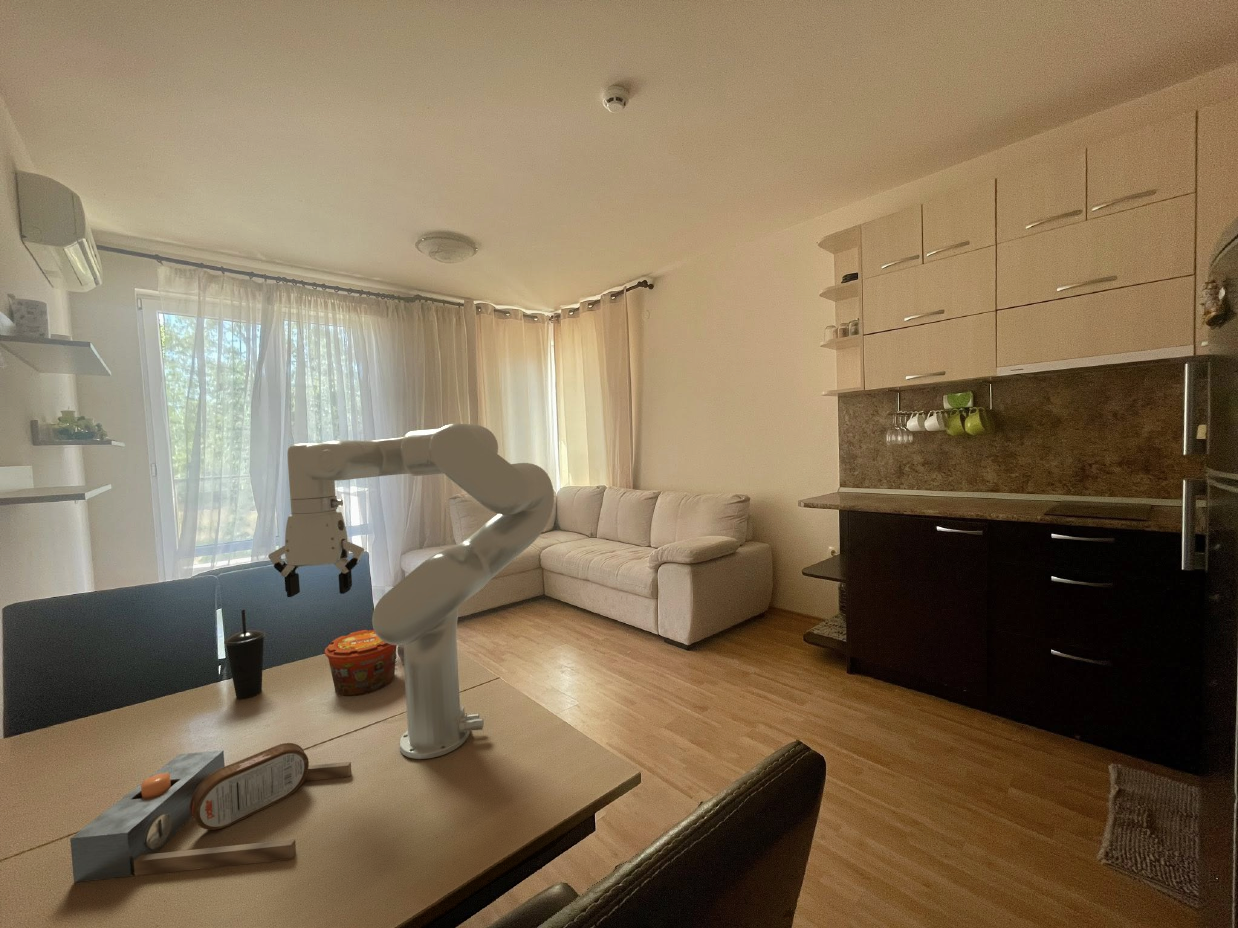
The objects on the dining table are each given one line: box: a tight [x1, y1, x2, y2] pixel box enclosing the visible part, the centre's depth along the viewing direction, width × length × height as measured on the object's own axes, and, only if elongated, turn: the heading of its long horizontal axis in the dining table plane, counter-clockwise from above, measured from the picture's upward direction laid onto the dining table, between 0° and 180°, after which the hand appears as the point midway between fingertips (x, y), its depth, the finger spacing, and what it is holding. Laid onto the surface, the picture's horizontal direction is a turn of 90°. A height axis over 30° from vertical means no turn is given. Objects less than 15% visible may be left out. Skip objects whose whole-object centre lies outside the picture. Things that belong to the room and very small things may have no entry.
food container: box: [324, 629, 398, 697], centre depth 119 cm, size 16×16×11 cm
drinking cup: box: [223, 609, 266, 700], centre depth 116 cm, size 8×8×20 cm
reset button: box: [140, 773, 171, 798], centre depth 74 cm, size 3×3×3 cm
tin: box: [190, 742, 310, 831], centre depth 77 cm, size 15×3×8 cm, turn 140°
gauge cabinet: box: [69, 749, 226, 883], centre depth 75 cm, size 7×18×6 cm, turn 5°
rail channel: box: [134, 761, 352, 876], centre depth 76 cm, size 20×18×2 cm
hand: (319, 593), depth 97 cm, fingers open, 9 cm apart
